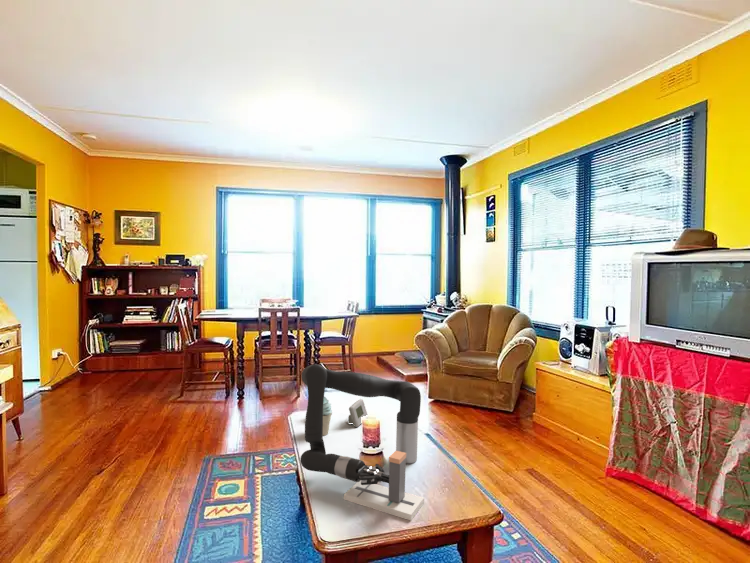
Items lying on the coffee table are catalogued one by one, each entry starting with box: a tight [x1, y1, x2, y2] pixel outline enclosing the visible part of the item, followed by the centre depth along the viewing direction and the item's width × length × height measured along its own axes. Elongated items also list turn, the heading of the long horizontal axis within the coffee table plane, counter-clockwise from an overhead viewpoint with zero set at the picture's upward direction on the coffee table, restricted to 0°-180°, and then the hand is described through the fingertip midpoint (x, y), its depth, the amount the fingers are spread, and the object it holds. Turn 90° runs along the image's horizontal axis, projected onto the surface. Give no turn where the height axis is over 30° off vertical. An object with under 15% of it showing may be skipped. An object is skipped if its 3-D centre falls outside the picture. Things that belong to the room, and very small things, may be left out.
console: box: [343, 481, 425, 521], centre depth 153 cm, size 12×26×2 cm, turn 63°
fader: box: [388, 450, 406, 503], centre depth 151 cm, size 6×4×16 cm, turn 153°
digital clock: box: [347, 398, 369, 428], centre depth 230 cm, size 16×9×11 cm, turn 149°
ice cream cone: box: [322, 396, 333, 437], centre depth 213 cm, size 10×11×20 cm
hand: (391, 480), depth 152 cm, fingers closed
